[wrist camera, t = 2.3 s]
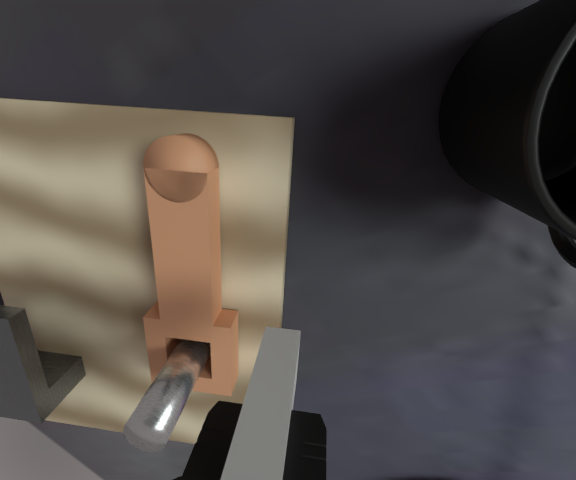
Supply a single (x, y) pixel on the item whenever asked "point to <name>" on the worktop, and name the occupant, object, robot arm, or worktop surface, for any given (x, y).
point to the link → (188, 259)
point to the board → (131, 241)
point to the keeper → (31, 371)
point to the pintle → (167, 396)
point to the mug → (520, 117)
